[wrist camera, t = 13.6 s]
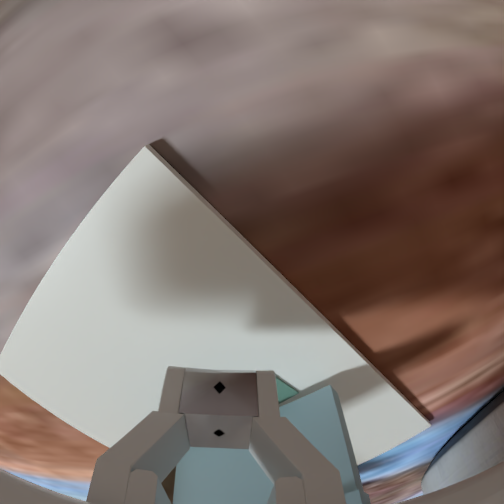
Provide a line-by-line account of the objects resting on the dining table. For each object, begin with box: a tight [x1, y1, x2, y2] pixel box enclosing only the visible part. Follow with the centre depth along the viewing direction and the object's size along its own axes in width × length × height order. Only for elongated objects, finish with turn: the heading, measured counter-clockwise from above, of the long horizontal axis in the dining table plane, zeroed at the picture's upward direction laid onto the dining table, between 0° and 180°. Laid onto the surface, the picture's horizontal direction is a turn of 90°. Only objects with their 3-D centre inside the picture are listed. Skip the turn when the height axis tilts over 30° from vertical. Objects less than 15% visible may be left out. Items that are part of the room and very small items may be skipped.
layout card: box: [0, 144, 431, 466], centre depth 14 cm, size 21×15×1 cm
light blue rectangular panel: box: [173, 385, 371, 504], centre depth 10 cm, size 8×1×5 cm, turn 124°
